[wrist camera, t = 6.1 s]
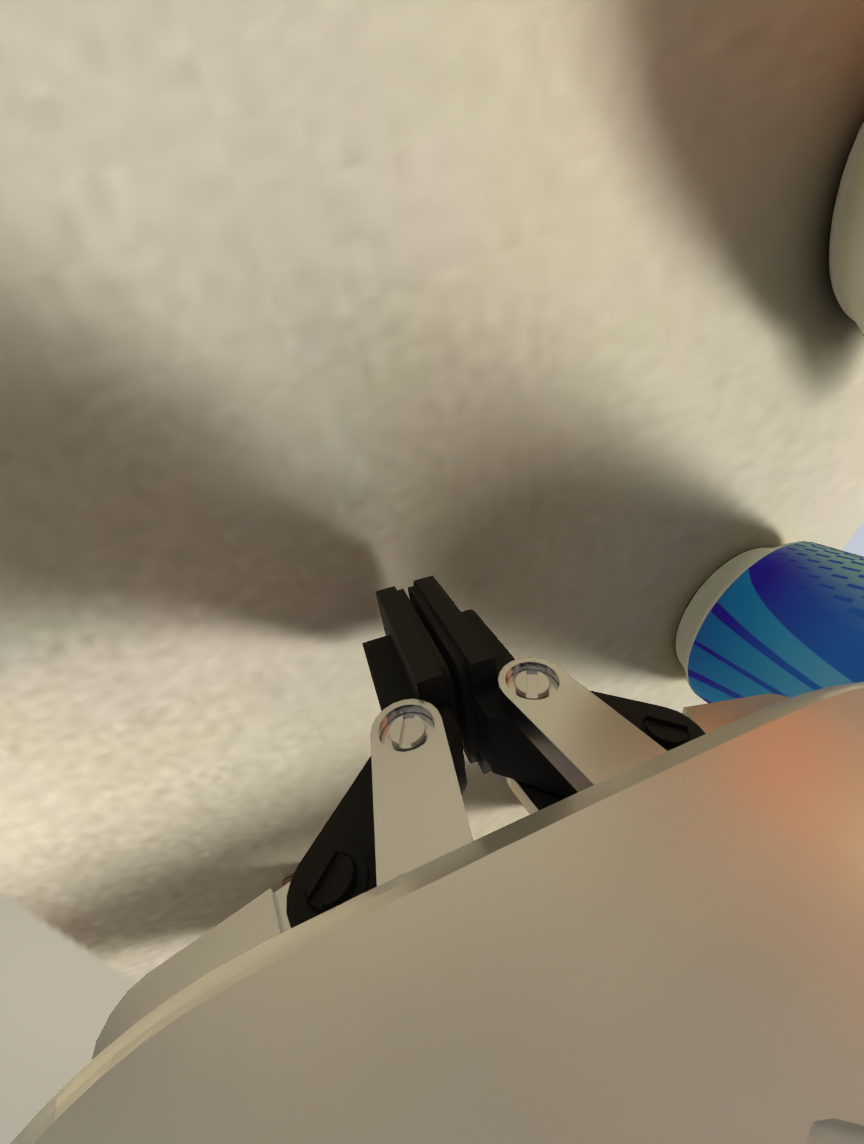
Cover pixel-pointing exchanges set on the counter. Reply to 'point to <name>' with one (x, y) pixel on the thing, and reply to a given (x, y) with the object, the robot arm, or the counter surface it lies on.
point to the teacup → (849, 236)
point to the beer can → (775, 624)
